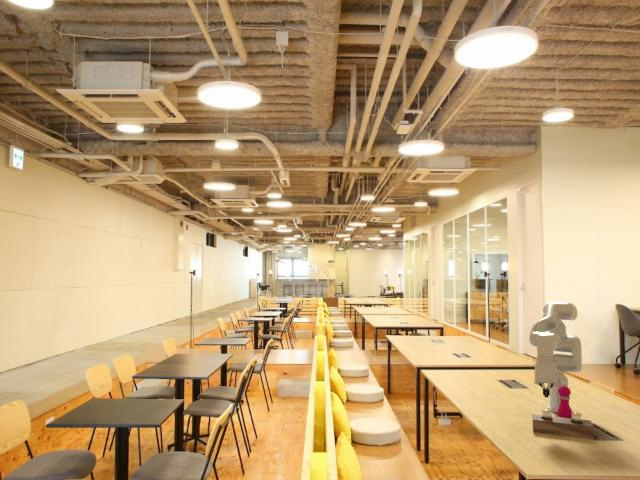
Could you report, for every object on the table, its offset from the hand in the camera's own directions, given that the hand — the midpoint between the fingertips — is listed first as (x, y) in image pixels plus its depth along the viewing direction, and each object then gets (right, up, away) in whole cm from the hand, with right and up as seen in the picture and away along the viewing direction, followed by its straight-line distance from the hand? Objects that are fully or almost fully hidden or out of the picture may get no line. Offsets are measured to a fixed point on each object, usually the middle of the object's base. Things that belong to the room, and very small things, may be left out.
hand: (546, 396), depth 236 cm
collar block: (+6, -17, -3) cm, 18 cm away
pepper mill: (+16, -18, +13) cm, 28 cm away
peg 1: (0, -11, 0) cm, 11 cm away
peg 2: (+12, -11, -5) cm, 17 cm away
